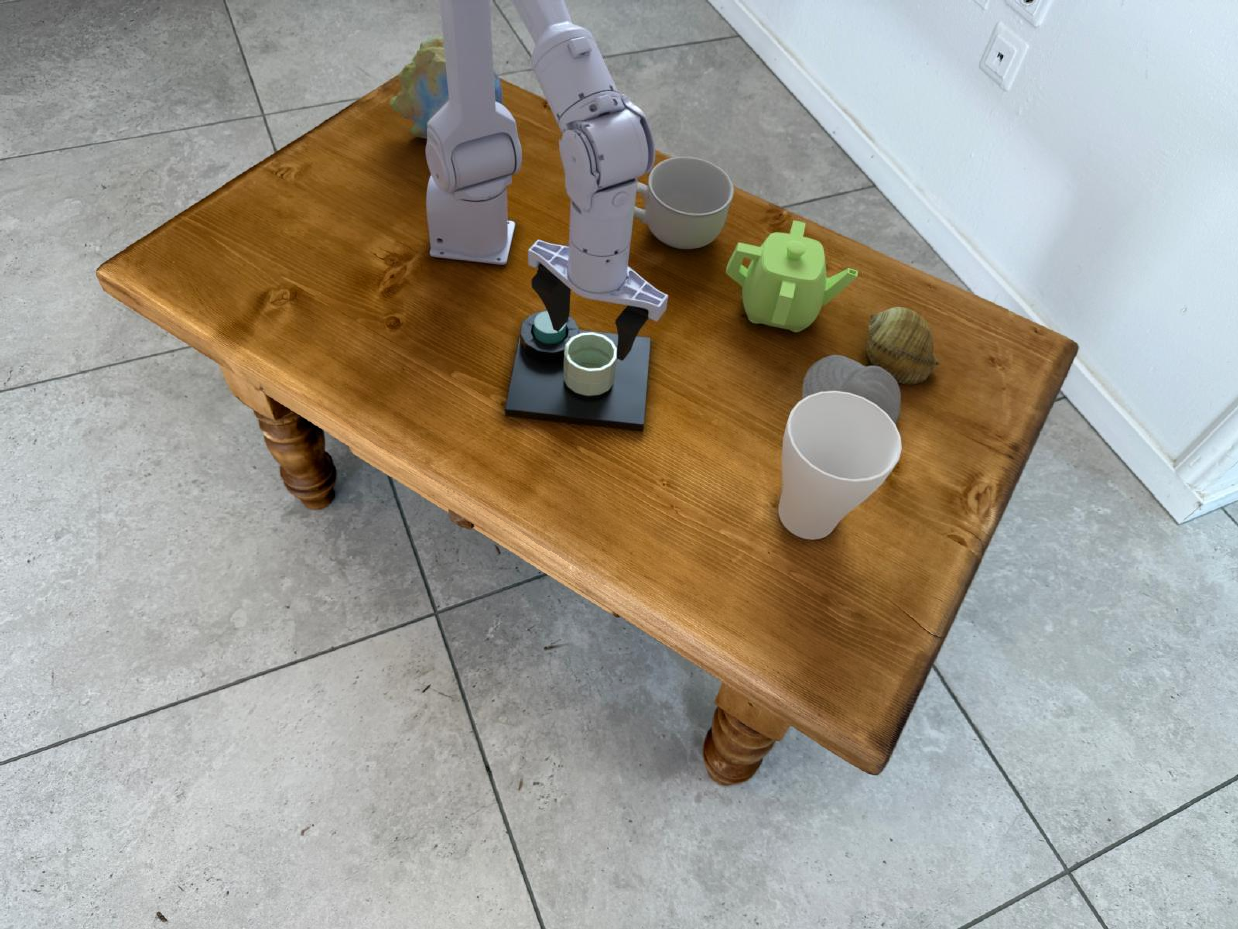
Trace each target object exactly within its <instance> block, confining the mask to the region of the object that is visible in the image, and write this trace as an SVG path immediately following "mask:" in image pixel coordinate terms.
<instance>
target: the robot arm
mask: <svg viewBox="0 0 1238 929" xmlns="http://www.w3.org/2000/svg"><path fill="white" fill-rule="evenodd" d="M510 2H511V3H512V5H513V7H514V9H515V10H516V13H517V14H518V16H519V17H520V19H521V21H522V23H523V24H524V26H525V28H526V30H527V31H528V33H529V35H530V37H531V39H532V40H533V42H534V48H533V51H532V53H531V56H530V67H531V69H532V71H533V73H534V75H535V78H536V80H537V82H538V84H539V87H540V89H541V91H542V93H543V95H544V97H545V100H546V102H547V104H548V106H549V109H550V110H551V113H552V115H553V117H554V120H555V121H556V123H557V126H558V128H559V130H560V132H561V134H562V136H561V138H559V139H558V146H559V155H560V159H561V163H562V167H563V169H564V177H565V178H564V179H565V180H564V188H565V190H566V195H567V197H568V198H570V208H569V210H570V211H569V234H568V245H561V244H555V243H551V242H547V241H544V240H541V239H537V240H536V241H535V242H534V243H533V244H532V245H531V246H530V247H529V248H528V250H527V265H528V266H529V267H532V268H535V269H537V270H536V273H535V274H534V276H533V277H532V278H531V281H530V282H531V284H530V285H531V289H532V290H533V291H534V292H535V293H536V294H537V296H538V298H540V300H541V302H542V303H543V305H544V307H545V310H547V312H548V314H549V317H550V320H551V323H552V326H553V329H554V330H556V331H558V332H559V331H560V329H561V328H562V327H563V326H564V325H565V323H566V322H567V321H568V318H569V316H570V312H571V295H572V294H571V293H572V292H573V293H574V294H576V295H578V296H580V297H582V298H585V299H588V300H592V301H593V300H594V301H599V302H605V303H612V304H617V305H623V306H626V307H625V308H624V309H623V310H622V311H621V312H620V314H619V315H618V316H617V318H616V319H615V321H614V324H615V326H616V331H617V334H618V345H617V351H616V357H617V359H619V360H621V361H623V360H624V359H625V357H626V356H627V355H628V354H629V352H630V351H631V349H632V346H633V343H634V341H635V338H636V336H638V334H639V333H640V331H641V329H642V328H643V327H644V325H645V324H646V323H647V321H648V320H649V319H650V320H653V322H658V321H659V320H660V318H662V316H663V315H664V314H665V312H666V311H667V307H668V299H669V295H668V294H666V293H664V292H662V291H660V290H659V289H657V288H656V287H655V286H654V285H652V284H651V283H650V282H648V281H647V280H645V278H643V276H641V275H639V273H637V272H636V271H635V270H634V269H633V268H631V267H630V266H629V259H630V249H631V241H632V235H633V234H632V233H633V224H634V217H635V216H634V208H635V207H636V198H637V193H636V190H637V182H639V180H638V178H640V177H642V176H643V175H647V174H650V173H651V171H652V169H653V168H654V165H655V160H656V144H655V138H654V134H653V131H652V129H651V125H650V124H649V121H648V117H647V115H645V113H644V112H643V111H642V109H641V108H639V106H637V105H635V104H634V103H633V102H632V101H631V99H630V97H629V96H628V95H627V94H626V93H619V90H618V88H617V86H616V84H615V82H614V80H613V77H612V76H611V73H610V71H609V69H608V67H607V64H606V62H605V60H604V58H603V55H602V53H601V51H600V49H599V46H598V44H597V43H596V41H595V39H594V36H593V34H592V33H591V31H590V30H589V29H587V28H586V27H582V26H580V25H577V24H574V23H573V22H572V18H571V16H570V12H569V10H568V7H567V5H566V3H565V2H566V1H565V0H510ZM439 10H440V21H441V30H442V31H441V32H442V35H443V41H444V52H445V62H446V72H447V82H448V93H449V101H448V102H447V103H446V104H445V105H444V106H443V107H442V108H441V109H440V110H439V111H438V112H437V113H436V114H435V115H434V116H433V117H432V118H431V119H430V120H429V121H428V123H427V127H428V129H427V139H426V145H425V158H426V163H427V166H428V167H427V168H428V169H429V173H430V176H429V179H428V183H427V186H426V187H427V188H426V196H425V197H426V201H425V204H426V205H425V208H426V219H427V227H428V236H429V244H430V250H429V255H430V256H431V257H432V258H441V259H447V260H448V259H449V260H459V261H466V262H475V263H484V264H493V265H501V266H503V265H504V266H505V265H506V264H507V263H508V258H509V254H510V250H511V247H512V242H513V237H514V232H515V228H516V222H515V221H512V220H508V218H509V216H508V190H507V189H508V186H510V185H512V184H513V175H517V174H518V173H520V170H521V166H522V162H523V150H522V146H521V142H520V138H519V134H518V126H517V125H518V124H517V122H516V119H515V118H514V116H513V114H512V113H511V112H510V110H508V109H507V107H506V106H505V105H503V103H502V104H500V103H498V102H496V101H495V87H494V70H495V68H494V53H493V52H494V51H493V37H492V36H493V34H492V32H493V30H492V14H491V12H492V11H491V0H439Z"/></svg>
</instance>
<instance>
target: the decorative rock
mask: <svg viewBox="0 0 1238 929" xmlns="http://www.w3.org/2000/svg"><path fill="white" fill-rule="evenodd" d="M397 80H398V82H399V84H400V85H399V86H400V88H401V90H402V91H399V92H398V93H397V94H396V96H393V97H391V98H389V107H390V108H391V109H392V110H393V111H394V112H396V113H397V114H398V115H399V116H401V117H402V118H404V119H406V120H410V119H411V121H413V123H414V124H412V125H411V126H410V129H409V133H410V134H411V135H412V136H414V137H418V138H422V139H426V140H427V129H428V127H427V123H428V121H429V120H430V119H431V118H432V117H433V116H434V115H435V114H436V113H437V112H438V111H439V110H440V109H441V108H442V107H443V106H444V105H445V104H446V103H447V102H448V101H449V93H448V82H447V72H446V62H445V52H444V41H443V34H442V35H438V36H434V37H430V38H427V39H426V40H425V41H423V42H421V43H420V44H419V49H418V50H416V54H415V55H413V57H412V60H411V61H410V62H409V63H406V64H405V65H404V67H403V68H402V70H401V71H399V72H398V73H397ZM494 87H495V101H496V102H498V103H500V104H502V105H503V88H502V84H501V80H500V77H499V76H498V73H497V72H496V70H495V69H494Z"/></svg>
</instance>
